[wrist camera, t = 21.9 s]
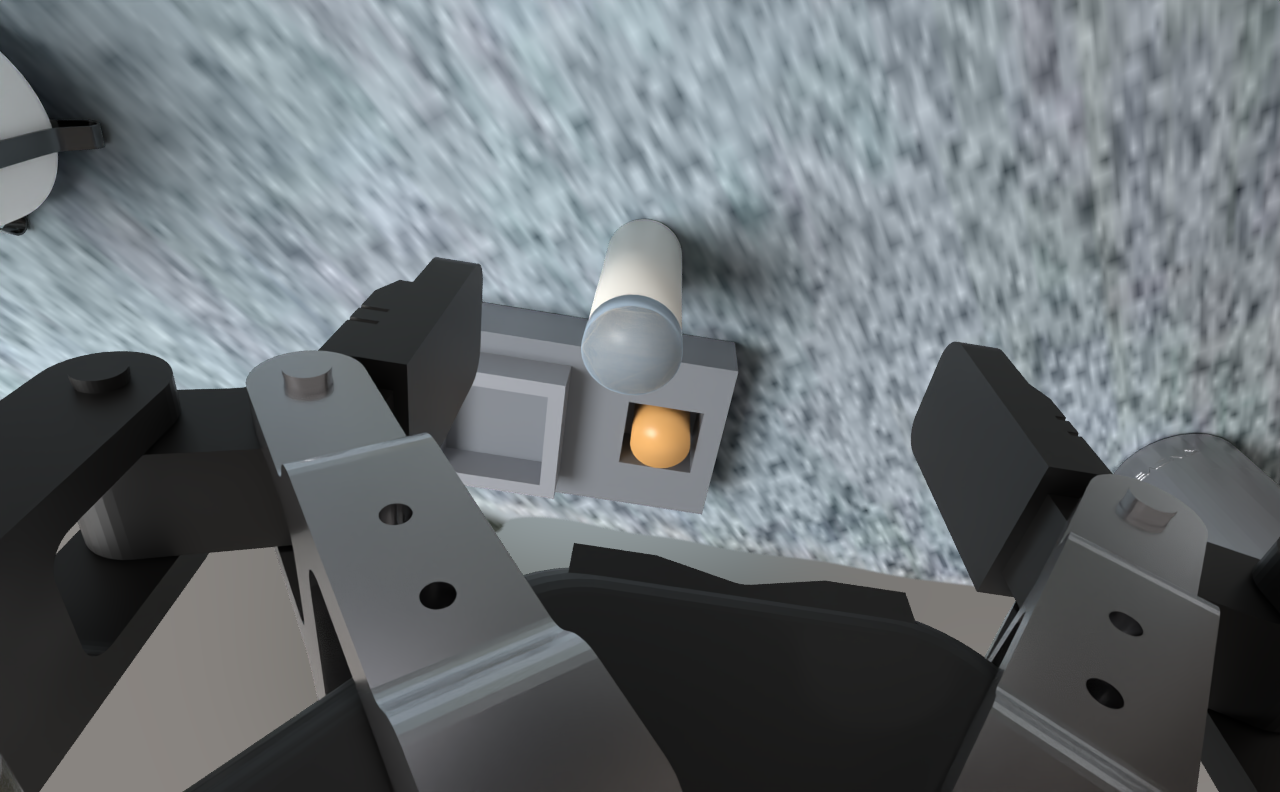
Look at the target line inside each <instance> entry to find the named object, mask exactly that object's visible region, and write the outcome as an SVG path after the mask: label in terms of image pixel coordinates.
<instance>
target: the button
mask: <svg viewBox="0 0 1280 792" xmlns="http://www.w3.org/2000/svg"><path fill="white" fill-rule="evenodd" d="M630 446H631V450H632V452H633V454H634V456H635V457H636V458H637V459H638V460H639V461H640V462H642V463H643V464H645V465H647V466H650V467H654V468H668V467H672V466H675V465H677V464H679V463H680V462H681V461H683V460H684V459H685V458H686V456H687V455H688V453H689V450H690V411H684V410H678V409H671V408H665V407H658V406H652V405H646V404H639V403H635V407H634V415H633V423H632V431H631V440H630Z"/></svg>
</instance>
